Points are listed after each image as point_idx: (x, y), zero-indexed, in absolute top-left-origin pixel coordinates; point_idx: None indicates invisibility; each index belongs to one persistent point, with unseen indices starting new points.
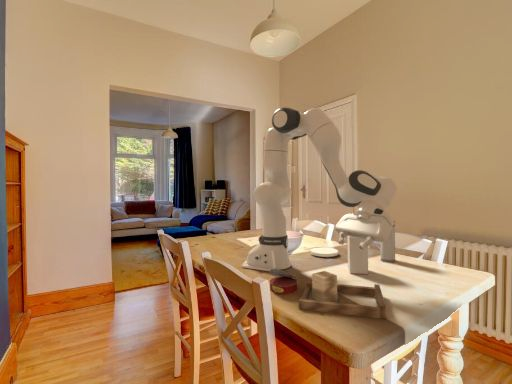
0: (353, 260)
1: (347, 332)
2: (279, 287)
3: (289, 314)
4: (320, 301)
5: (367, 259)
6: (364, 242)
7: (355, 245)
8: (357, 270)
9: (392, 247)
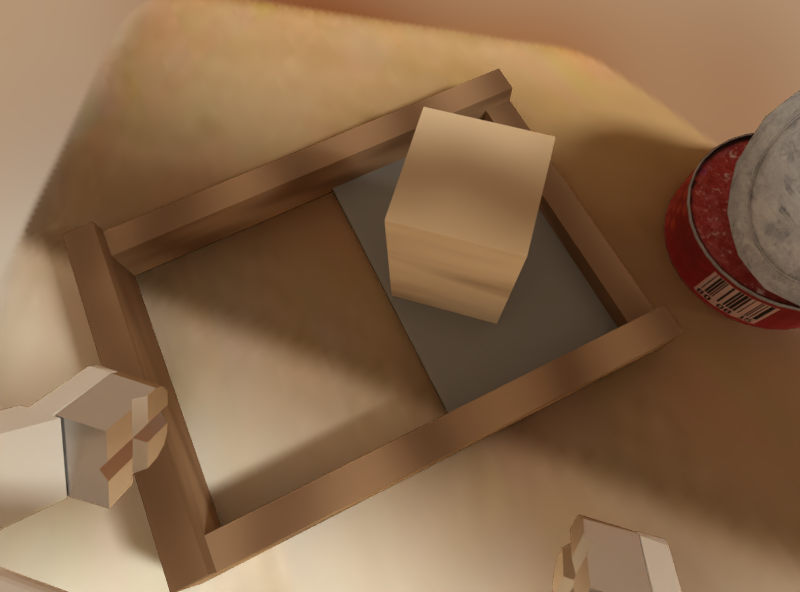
0: None
1: (216, 68)
2: (728, 143)
3: (488, 39)
4: (404, 125)
5: None
6: (29, 413)
7: None
8: None
9: None
